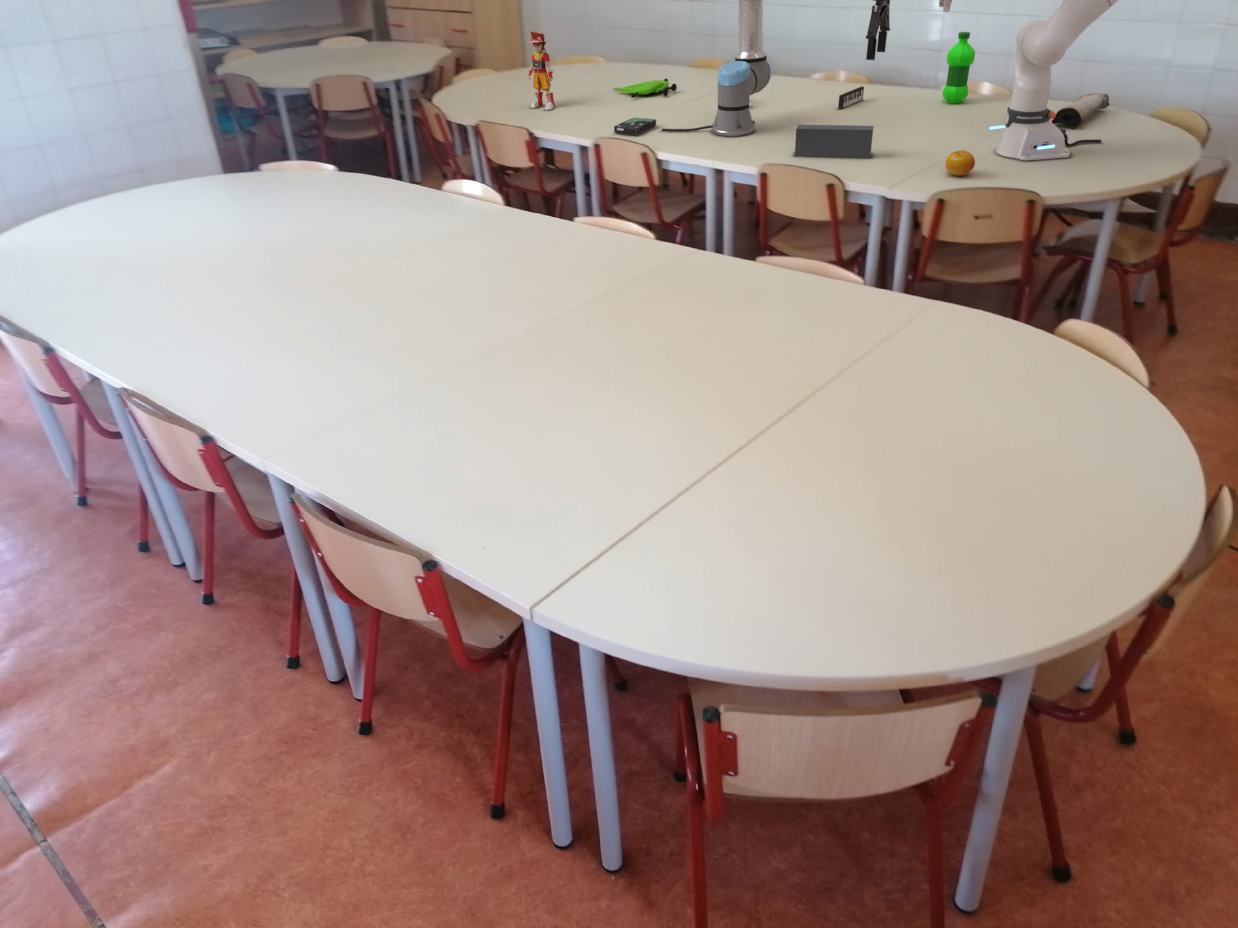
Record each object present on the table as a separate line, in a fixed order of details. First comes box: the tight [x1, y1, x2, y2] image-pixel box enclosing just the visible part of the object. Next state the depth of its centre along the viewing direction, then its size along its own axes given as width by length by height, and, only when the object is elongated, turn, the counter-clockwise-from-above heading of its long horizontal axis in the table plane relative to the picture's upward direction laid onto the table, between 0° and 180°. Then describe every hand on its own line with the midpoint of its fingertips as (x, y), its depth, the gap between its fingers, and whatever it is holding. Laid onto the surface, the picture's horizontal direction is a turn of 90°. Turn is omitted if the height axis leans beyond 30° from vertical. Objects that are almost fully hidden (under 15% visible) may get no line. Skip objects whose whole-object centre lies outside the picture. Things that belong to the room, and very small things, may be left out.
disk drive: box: [613, 116, 657, 136], centre depth 344 cm, size 10×3×15 cm
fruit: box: [944, 150, 976, 177], centre depth 280 cm, size 8×8×8 cm
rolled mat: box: [1051, 92, 1110, 129], centre depth 325 cm, size 30×9×10 cm
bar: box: [794, 124, 874, 159], centre depth 303 cm, size 25×5×9 cm, turn 74°
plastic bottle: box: [942, 31, 976, 104], centre depth 348 cm, size 10×10×25 cm
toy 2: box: [612, 78, 677, 99], centre depth 396 cm, size 28×5×30 cm
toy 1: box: [527, 31, 556, 111], centre depth 374 cm, size 12×9×30 cm
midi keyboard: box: [837, 85, 865, 110], centre depth 359 cm, size 18×1×5 cm, turn 138°
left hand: (875, 56), depth 308 cm, fingers open, 13 cm apart
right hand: (944, 9), depth 276 cm, fingers open, 8 cm apart
